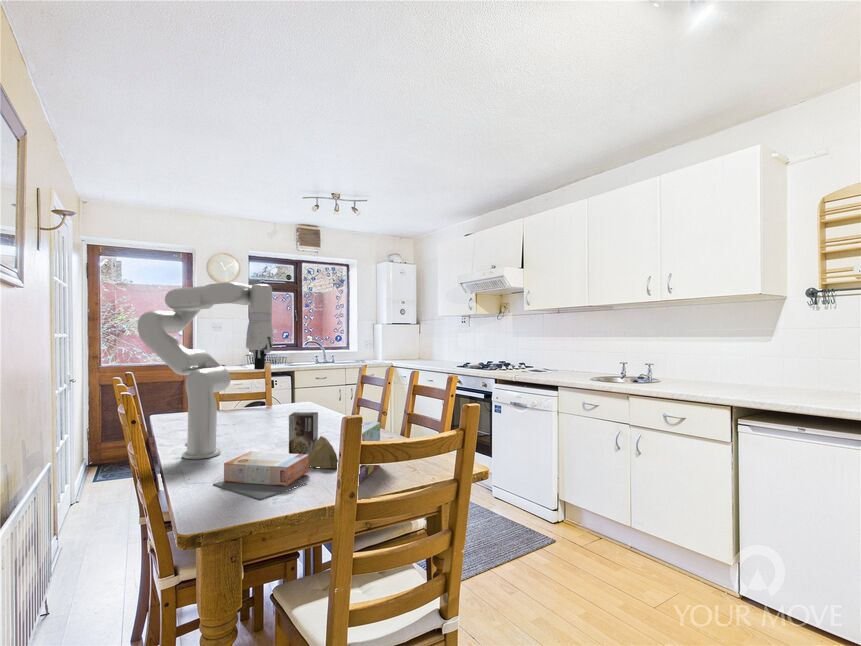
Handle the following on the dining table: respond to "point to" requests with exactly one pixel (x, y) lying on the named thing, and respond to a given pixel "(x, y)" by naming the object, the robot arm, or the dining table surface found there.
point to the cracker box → (266, 468)
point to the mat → (257, 488)
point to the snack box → (369, 434)
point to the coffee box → (303, 432)
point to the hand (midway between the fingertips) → (259, 369)
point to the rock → (323, 455)
